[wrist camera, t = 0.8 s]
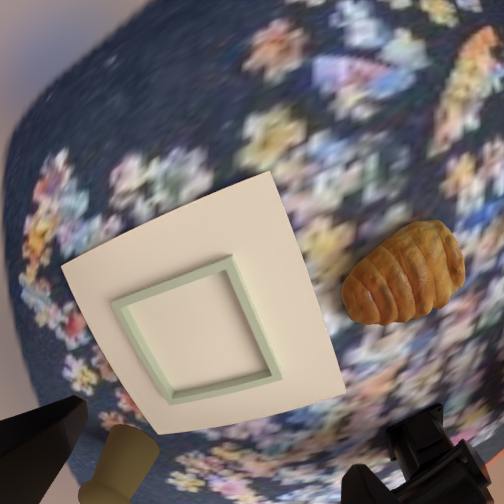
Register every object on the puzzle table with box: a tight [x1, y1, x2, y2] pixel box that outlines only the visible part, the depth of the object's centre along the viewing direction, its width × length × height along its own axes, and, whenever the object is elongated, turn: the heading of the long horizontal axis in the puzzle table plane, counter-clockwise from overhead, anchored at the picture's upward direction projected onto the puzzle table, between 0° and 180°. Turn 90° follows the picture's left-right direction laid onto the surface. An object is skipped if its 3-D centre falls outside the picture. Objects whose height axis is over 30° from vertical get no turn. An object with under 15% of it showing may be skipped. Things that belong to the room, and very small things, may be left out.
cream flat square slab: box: [61, 171, 347, 435], centre depth 21 cm, size 18×18×2 cm
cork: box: [78, 424, 160, 504], centre depth 20 cm, size 6×6×11 cm
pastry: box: [341, 220, 465, 326], centre depth 18 cm, size 9×7×4 cm
